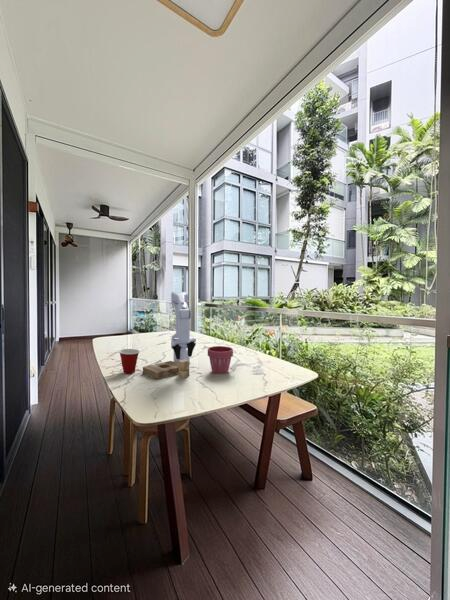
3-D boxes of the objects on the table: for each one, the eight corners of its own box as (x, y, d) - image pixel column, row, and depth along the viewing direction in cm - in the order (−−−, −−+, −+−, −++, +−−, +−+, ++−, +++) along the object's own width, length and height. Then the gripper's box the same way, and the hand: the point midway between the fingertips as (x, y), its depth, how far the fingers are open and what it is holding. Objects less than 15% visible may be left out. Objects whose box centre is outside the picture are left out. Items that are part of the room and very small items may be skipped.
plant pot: (230, 376, 138) (231, 352, 138) (204, 374, 141) (205, 350, 140) (234, 368, 152) (234, 346, 152) (210, 367, 155) (210, 345, 154)
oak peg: (184, 374, 141) (184, 359, 141) (189, 375, 138) (189, 360, 138) (178, 375, 138) (178, 360, 138) (183, 377, 135) (183, 362, 135)
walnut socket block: (170, 366, 155) (170, 360, 155) (185, 371, 145) (185, 365, 145) (142, 373, 142) (142, 366, 142) (157, 379, 132) (157, 372, 132)
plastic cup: (135, 375, 138) (135, 352, 138) (115, 375, 139) (115, 352, 138) (142, 369, 149) (142, 348, 149) (123, 369, 149) (123, 348, 149)
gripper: (177, 334, 130) (177, 361, 130) (199, 331, 140) (199, 356, 140) (169, 332, 134) (168, 359, 135) (191, 329, 145) (191, 354, 145)
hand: (184, 357), depth 138 cm, fingers open, 7 cm apart
